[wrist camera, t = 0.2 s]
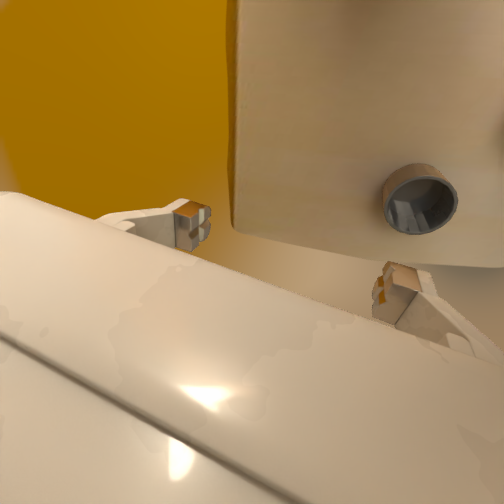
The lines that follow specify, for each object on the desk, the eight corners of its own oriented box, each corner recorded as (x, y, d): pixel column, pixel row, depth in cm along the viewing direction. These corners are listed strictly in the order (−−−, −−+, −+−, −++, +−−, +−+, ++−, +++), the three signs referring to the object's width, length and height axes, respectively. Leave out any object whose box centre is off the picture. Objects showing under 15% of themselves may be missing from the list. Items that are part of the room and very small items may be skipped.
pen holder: (396, 157, 49) (400, 169, 41) (457, 170, 46) (473, 184, 39) (373, 207, 55) (374, 225, 48) (426, 221, 52) (435, 242, 45)
